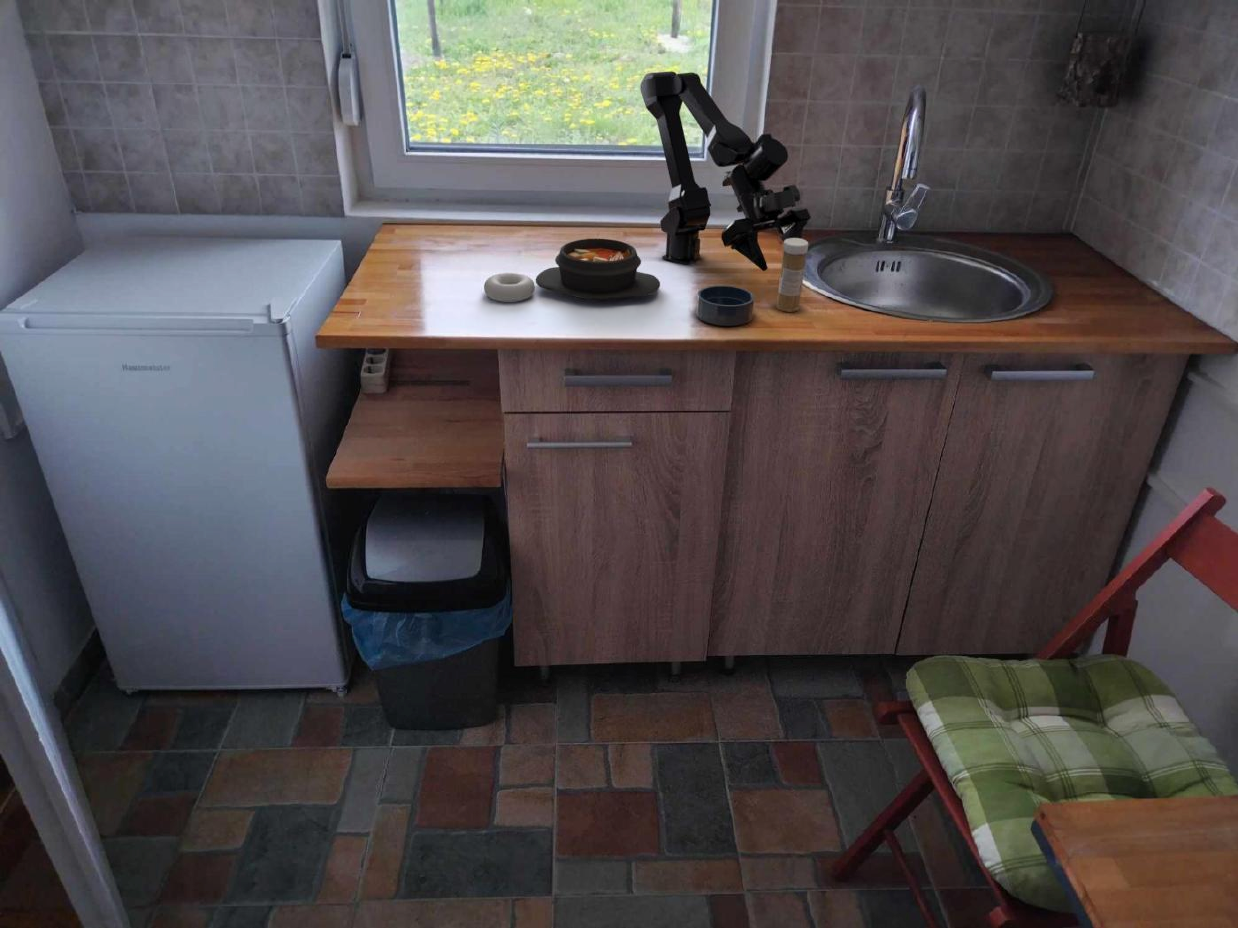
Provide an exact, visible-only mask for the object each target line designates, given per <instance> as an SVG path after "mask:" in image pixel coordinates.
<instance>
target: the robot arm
mask: <svg viewBox="0 0 1238 928" xmlns="http://www.w3.org/2000/svg"><path fill="white" fill-rule="evenodd" d="M639 91H640V95H641V97H642V100H643V103H644V106H645V109H646V110H647V111H648V112H649V113H650V114H651V115H652V117H654V119H655V121H656V124H657V128H658V133H659V137H660V141H661V146H662V149H663V155H664V159H665V162H666V167H667V171H668V172H667V173H668V175H669V180H670V184H671V190H670V194H669V198H668V200H667V201H668V202H667V205H668V211H667V213H666V214H665V215H664V216H663V218H661V219H660V221H659V223H660V224H659V225H660V229H661V232H663V233H665V234H666V245H665V254H664V255H662V256H661V259H662V260H665V261H670V262H674V263H678V264H679V263H680V264H684V265H690V264H691V263H693V262H694V261H696V260H698V259H700V258H701V254H700V249H701V239H700V237H699V236H700V232H701V231H705V230H706V227H707V225H708V222H709V218H710V216H711V207H712V204H711V201H710V199H709V193H708V192H709V191H708V189H707V187H706V186H703V187H700V185H699V184H698V183H697V182H696V180H695V175H694V171H693V167H692V162H691V159H690V154H689V149H688V145H687V141H686V135H685V131H684V127H683V122H682V119H681V114H680V113H681V109H682V105H683V104H684V105H685V107H686V108H687V110H688V111H689V113H690V115H692V117H693V118H694V120H695V121H696V123H697V124H698V126H699V127H700V129H701V130H702V132H703V133H704V135H705V136H706V148H707V151H708V153H709V155H710V157H711V159H712V161H713V163H714V164H715V165H716V166H717V167H719V168H726V167H733V166H735V167H733V169H732V170H729V171H725V172H724V177H723V179H722V183H721V185H722V187H731V188H732V191H733V193H734V195H735V198H736V200H737V202H738V204H739V205H738V206H737V207H736V211H737V213H743V215H744V217H743V218H739V219H738V218H737V219H734V220H733V221H732V222H731V223H729V225H728V226H727V227H725V229H724V230H722V231H721V238H720V239H721V241H722V244H723V247H725V248H728V247H730V249H731V250H735V251H737V252H738V253H739V254H741V255H742V256H743V257H746V259H748V260H749V261H750V262H752V263H753V264H754V265H755V266H756V267H758V268H759V269H760V270H761V271H762V272H765V271H767V270H768V269H769V267H768V265H767V261H766V258H765V256H764V253H763V251H762V249H761V246H760V244H759V239H758V237H759V233H762V232H763V233H764V232H767V231H772V230H777V232H778V233H779V234H781V236H779V238H780V240H781V241H782V243H784V241H785V240H786V239H789V238H800V239H803V238H802V237H803V230H804V227H805V226H807V225H808V221H810V220H811V218H812V216H811V214H810V212H809V209H808V208H806V207H804V206H800V207H797V202H800V200H801V194H800V190H799V188H798V187H797V185H796V184H791V185H790V184H789V185H787V186H784V187H783V189H782V190H781V191H777V192H774V191H773V190H772V188H770V189H766V186H765V184H764V182H765V181H768V180H769V179H771V177H772V176H773V175H774V174H775V173H776V172H777V171H778V170H779V169H780V168H781V167H783V166H784V164H785V163H786V162H787V161H788V160H789V153H788V149H787V147H786V146H785V145H784V144H782V142H780V140H778V139H775V138H774V137H773V136H772V134H771V133H762V134H761V135H760V136H759V137H758V138H757V139H756V141H755V142H754V141H752V139H751V138H750V136H749V135H748V134H747V133H746V132H745V131H744V130H743V129H742V128H741V127H739V126H738V125H736V124H733V123H732V122H730V121H729V120H728V119H727V118H726V117H725V115H724V113H723V112H722V111H721V109H720V108H719V106H718V105H717V104H716V102H715V100H714V99H713V98H712V96H711V95H710V94H709V92H708V91H707V89H706V88H705V86H704V85H703V84H702V80H701V76H700V75H699V74H698V73H695V72H679V73H677V72H675V71H672V70H670V71H669V70H668V71H659V72H657V71H656V72H648V73H646V74H645V75H644V76H643V78H642V80H641V82H640V86H639ZM791 207H792V208H791ZM787 208H790V209H789V210H788V211H786V212H785V210H784V209H787ZM783 213H784V214H783ZM782 214H783V215H782ZM779 216H781V217H779Z"/></svg>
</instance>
